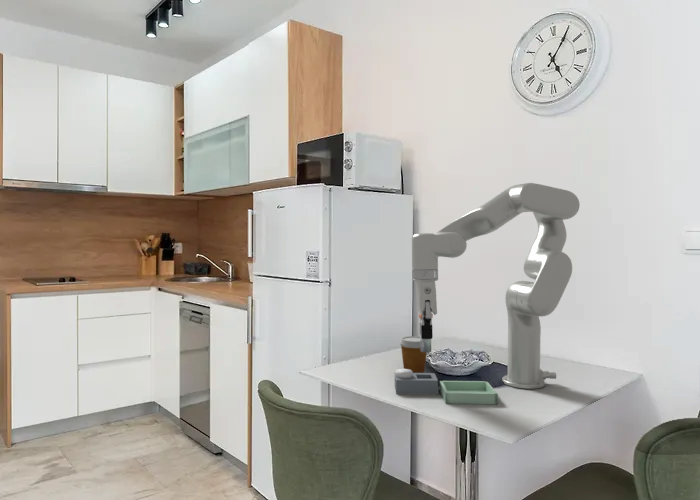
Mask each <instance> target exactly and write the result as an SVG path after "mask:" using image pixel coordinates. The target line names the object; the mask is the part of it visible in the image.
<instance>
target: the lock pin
mask: <svg viewBox="0 0 700 500" xmlns="http://www.w3.org/2000/svg"><path fill="white" fill-rule="evenodd" d="M423 314H426V313H423ZM433 317H434V314H433V313H432V319H433ZM418 318H419V320H420V321H419V337H420V351H421V352H427V353H431V352H432V339H422V338H421V325H422V315H421V314H420V313H418ZM424 318H425V317H424Z"/></svg>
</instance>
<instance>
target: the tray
mask: <svg viewBox="0 0 700 500" xmlns="http://www.w3.org/2000/svg"><path fill="white" fill-rule="evenodd" d="M438 391H439V392H440V394H441V397H442V399H443V401H444V403H445V404H446V405H447V404H448V405H449V404H457V405H458V404H459V405H461V404H463V405H464V404H465V405H469V404H470V405H498V404H499V403H498V402H499V401H498V399H499V397H498V396H499V394H498V393H497V391H496V390H495V389H494V387H492V385H491V384H490V383H489V381H487V380H486V381H485V380H484V381H481V380H439V384H438Z"/></svg>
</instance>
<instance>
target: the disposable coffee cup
mask: <svg viewBox="0 0 700 500" xmlns="http://www.w3.org/2000/svg"><path fill="white" fill-rule="evenodd" d="M399 344H400V347H401V349H400V350H401V356H402V364H403V369H409V370H412V373H425V368H426V361H427V360H426V359H427V354H428V352H421V351H420V336H419V335H417V336H416V335H413V336H412V335H410V336H403V337H401V339H400V341H399Z"/></svg>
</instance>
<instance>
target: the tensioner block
mask: <svg viewBox="0 0 700 500" xmlns="http://www.w3.org/2000/svg"><path fill="white" fill-rule="evenodd" d="M394 389H395V394H396V395H438V394H439V379H438V377H437V376H436V374H435V372H424V373H412V370H409V369H404V368H397V369H395V371H394Z"/></svg>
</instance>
